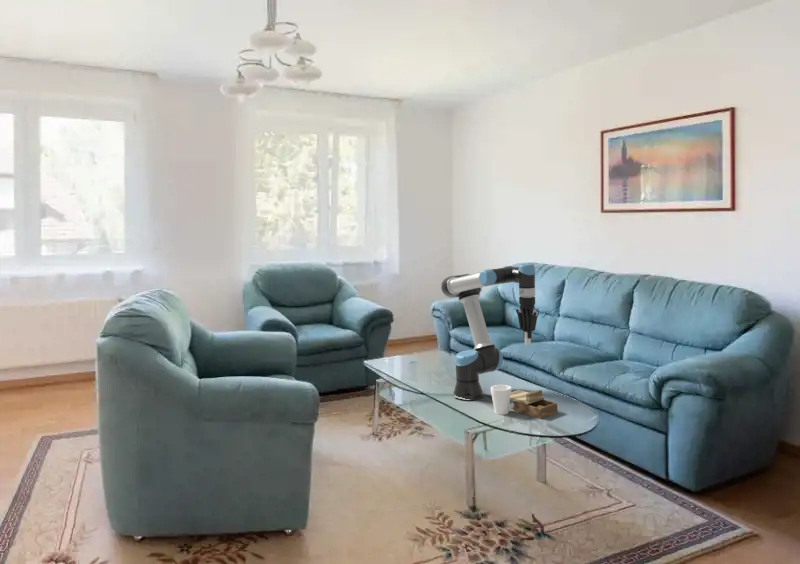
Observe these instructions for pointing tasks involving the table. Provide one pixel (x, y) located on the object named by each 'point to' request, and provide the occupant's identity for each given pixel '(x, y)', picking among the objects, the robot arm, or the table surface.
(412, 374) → the table surface
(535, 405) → the brown wooden box
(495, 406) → the foam cup
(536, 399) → the lid
